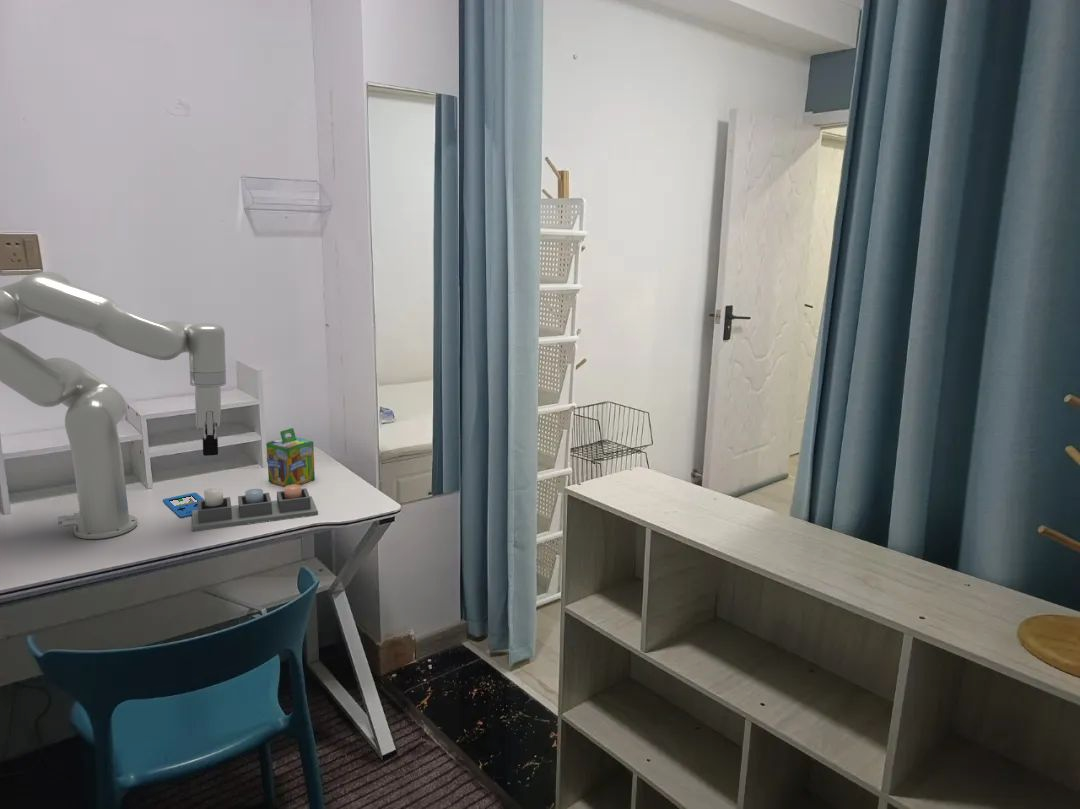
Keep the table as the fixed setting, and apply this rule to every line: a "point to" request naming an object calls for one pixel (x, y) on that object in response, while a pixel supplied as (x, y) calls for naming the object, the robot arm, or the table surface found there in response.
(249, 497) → the slate key
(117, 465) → the robot arm
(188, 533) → the table surface
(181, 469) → the table surface
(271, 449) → the chalk box
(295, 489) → the terracotta key
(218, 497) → the ivory key
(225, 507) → the grey socket tray
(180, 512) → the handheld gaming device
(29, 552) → the table surface
